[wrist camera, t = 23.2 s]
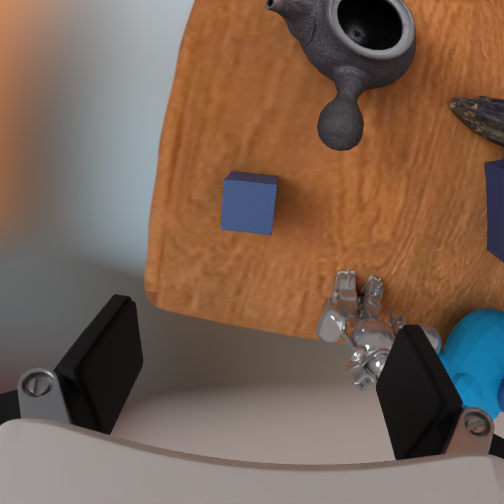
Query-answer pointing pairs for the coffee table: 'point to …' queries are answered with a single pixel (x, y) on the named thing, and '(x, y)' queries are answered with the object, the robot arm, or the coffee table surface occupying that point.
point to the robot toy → (363, 327)
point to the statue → (482, 116)
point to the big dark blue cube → (495, 207)
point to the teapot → (351, 53)
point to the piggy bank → (477, 360)
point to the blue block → (249, 202)
